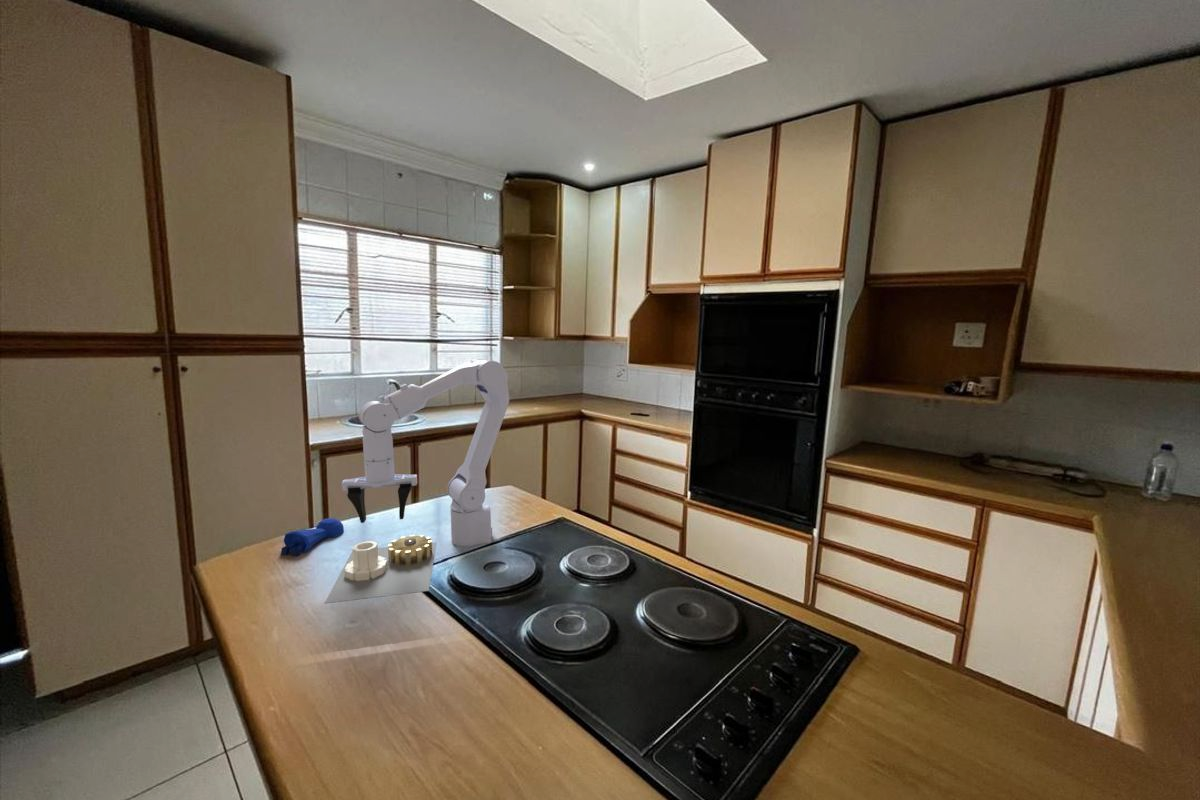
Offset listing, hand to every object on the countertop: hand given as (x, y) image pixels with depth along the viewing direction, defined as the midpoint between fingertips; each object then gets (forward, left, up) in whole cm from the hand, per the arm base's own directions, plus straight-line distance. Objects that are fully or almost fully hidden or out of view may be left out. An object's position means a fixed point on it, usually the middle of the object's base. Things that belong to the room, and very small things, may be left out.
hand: (382, 519), depth 104 cm
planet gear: (+3, +5, -9) cm, 11 cm away
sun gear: (-5, 0, -9) cm, 10 cm away
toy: (+17, -13, -10) cm, 24 cm away
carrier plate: (-1, +5, -10) cm, 11 cm away
